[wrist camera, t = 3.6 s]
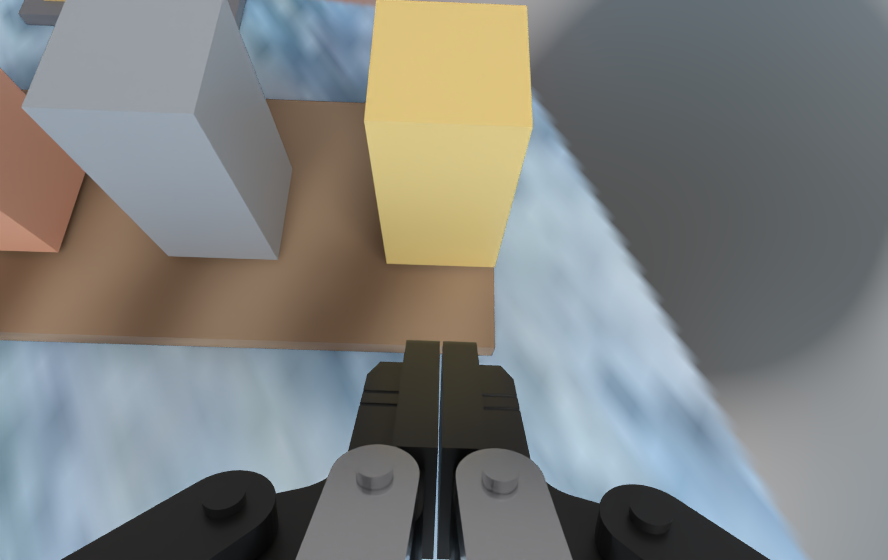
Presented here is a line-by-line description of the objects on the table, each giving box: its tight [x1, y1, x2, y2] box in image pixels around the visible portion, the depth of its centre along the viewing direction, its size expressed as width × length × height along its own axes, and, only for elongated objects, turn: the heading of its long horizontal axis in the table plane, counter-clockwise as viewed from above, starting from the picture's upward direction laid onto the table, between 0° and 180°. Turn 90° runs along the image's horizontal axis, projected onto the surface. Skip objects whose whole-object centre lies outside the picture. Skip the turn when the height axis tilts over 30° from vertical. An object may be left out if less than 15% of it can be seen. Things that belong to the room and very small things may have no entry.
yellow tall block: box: [364, 0, 533, 267], centre depth 18 cm, size 4×4×8 cm
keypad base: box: [0, 90, 495, 356], centre depth 22 cm, size 23×11×1 cm, turn 89°
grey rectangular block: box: [21, 0, 292, 260], centre depth 17 cm, size 4×4×8 cm
